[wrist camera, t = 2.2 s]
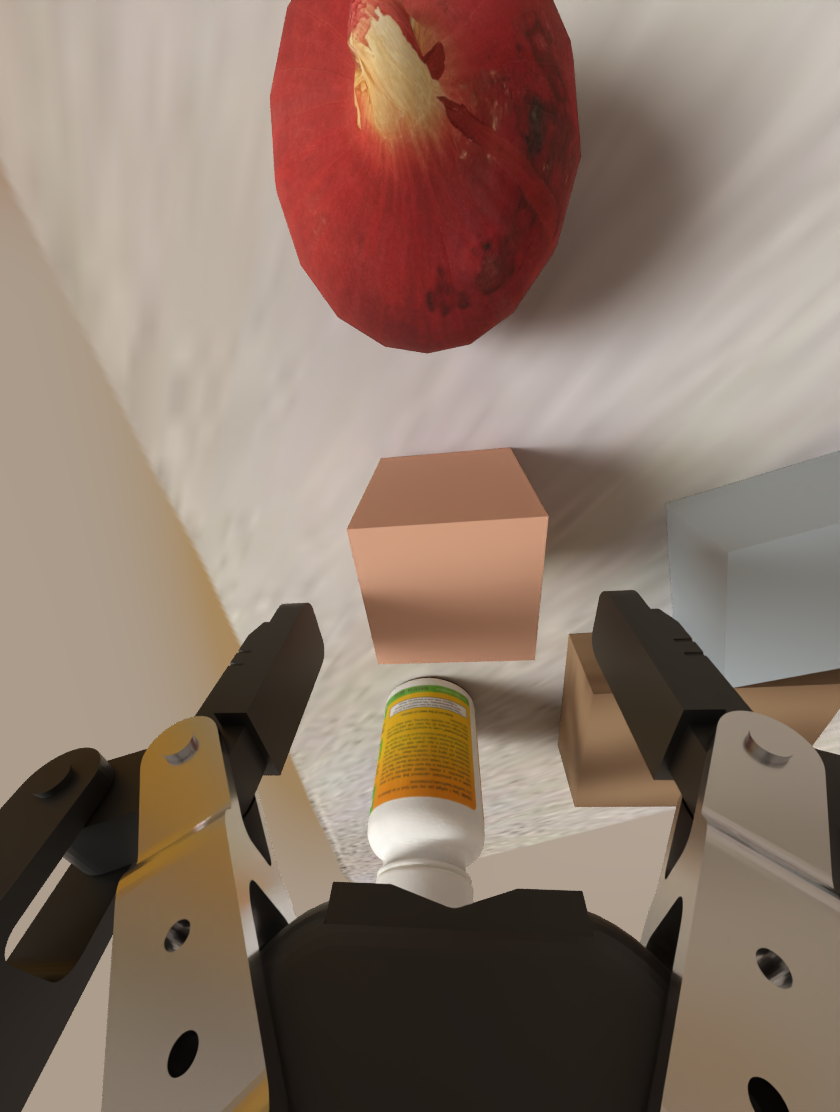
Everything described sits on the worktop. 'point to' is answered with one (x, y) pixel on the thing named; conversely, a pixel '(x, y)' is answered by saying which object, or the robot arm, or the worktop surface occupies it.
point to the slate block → (761, 572)
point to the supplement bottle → (428, 792)
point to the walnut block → (612, 754)
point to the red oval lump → (424, 158)
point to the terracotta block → (450, 558)
